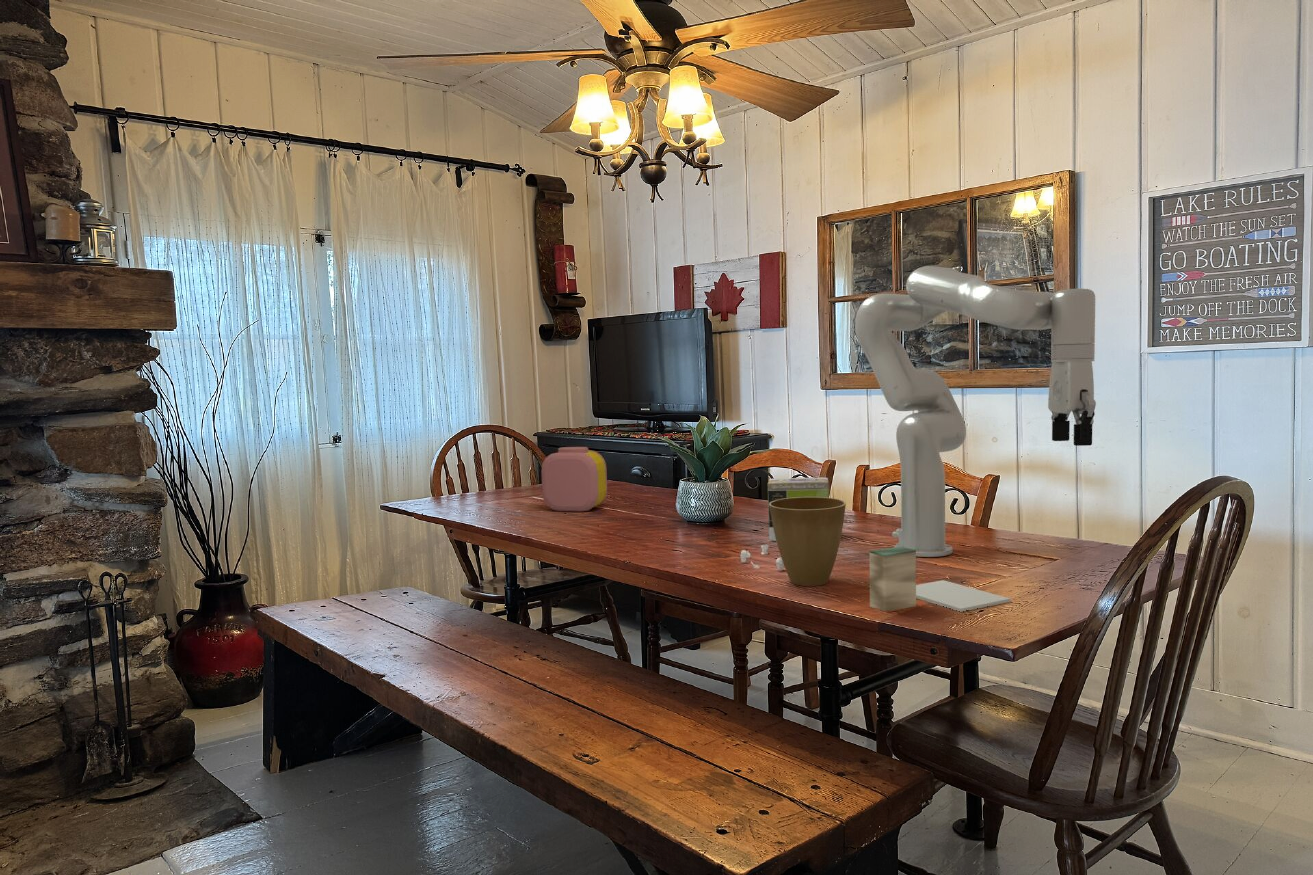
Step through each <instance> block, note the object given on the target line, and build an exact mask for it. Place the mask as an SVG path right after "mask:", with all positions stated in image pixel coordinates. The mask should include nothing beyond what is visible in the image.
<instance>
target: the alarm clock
mask: <svg viewBox="0 0 1313 875" xmlns="http://www.w3.org/2000/svg"><path fill="white" fill-rule="evenodd" d="M540 472H541V493H542V498H543V501H544V503H545V504H546V505H547V507H549V508H550V509H551V510H553V511H557V512H574V513H575V512H576V513H577V512H581V513H583V512H589V511H590V510H592V508H596V507H598V506H600V505H602V504H603V503H604V501H605V499H606V497H607V494H608V478H607V477H608V476H607V474H608V473H607V463H606V460H605V459H604V457H603V455H601V454H600V453H599V452H598V451H595V450H590V449H589V448H588V447H587V446H564V447H563V446H562V447H559V448H557V452H555V453H551V454H549V455H548V456H546V457H545V459H544V460H543V461H542V464H541V471H540Z"/></svg>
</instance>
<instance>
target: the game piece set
mask: <svg viewBox="0 0 1313 875" xmlns="http://www.w3.org/2000/svg"><path fill="white" fill-rule="evenodd" d="M760 548H761V553H760V554H761V555H769V553H768V549H769V545H768V544H761V545H760ZM751 557H752V556H751V553H749V550H747V551H746V550H745V549H743V550H741V552H740V557H739V558H740V562H741V563H742V564H745V563H746V562H747V559H750V558H751ZM775 563H776V567H777V571H779V572H780V571H781V572H782V571H783V569H784V567H785V566H784V563H783V561H782V558H781V556H780V557H778V558H776V560H775ZM750 564H751V565H753V567H752V568H753V569H757V570H759V569H760V568H761V567H760V566H759V565H755V564H754V563H753V561H750Z"/></svg>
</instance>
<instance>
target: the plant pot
mask: <svg viewBox="0 0 1313 875" xmlns="http://www.w3.org/2000/svg"><path fill="white" fill-rule="evenodd" d="M846 505H847V503H846V501H845V500H842V499H839V498H835V497H834V498H833V497H829V498H827V497H794V498H785V499H779V500H775V501H772V502H770V503H769V507H770V513H771V518H772V524H773V529H774V533H775V537H776V541H775V542H776V544H777V548H778V550H779V555H780V557H781V558H782V561H783V563H784V566H783V567H784V568H785V572H786V574H787V576H788V579H789V581H790V583H791V584H794V585H796V586H801V587H816V586H817V587H818V586H823V585H826V584H827V583H828V582H829V581H830V577H831V575H832V572H833V569H834V566H835V563H836V559H837V556H838V551H839V549H840V548H839V547H840V543H841V540H842V538H841V537H842V535H843V534H842V533H843V527H844V523H845V522H844V521H845V514H846Z"/></svg>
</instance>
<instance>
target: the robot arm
mask: <svg viewBox="0 0 1313 875" xmlns="http://www.w3.org/2000/svg"><path fill="white" fill-rule="evenodd" d="M905 284H906V285H905V289H906V293H907V294H906V293H905V294H903V293H901V294H900V293H877V294H874V295H872V296H869V297H867V298H866V299H865V300H864V301H863V302H862V303H861V304H860V306H859V308H858V310H857V311H856V316H855V322H854V329H855V335H856V338H857V342H858V343H859V346H860V348H861V349H862V351H863V353H864V356H866V359H867V360H868V364H870V366H871V369H872V372H873V375H874V376H875V379H876V382H878V385H879V388H880V390H881V392H882V394H883V397H884V399H885V400H886V403H887V404H888V406H889V407H890V408H891V409H893V410H895V411H897V412H911V411H914V412H912V413H911V414H909V415H906V416H905V417H904V418H902V419H901V421H900V422H899V424H898V426H897V428H896V432H895V433H896V434H895V436H896V445H897V451H898V456H899V462H900V463H899V465H900V490H901V491H900V499H901V500H900V501H901V503H900V512H901V513H900V514H901V515H900V519H901V520H900V521H901V522H900V523H901V524H900V527H901V528H897V529H896V530H895V531H894V530H893V532H892V533H891V536H892V537H893V538H897V539H898V542H897V543H896V544H895V545H894V547H899V546H900V547H905V548H909V549H913V550H916V558H920V557H921V558H924V557H925V558H935V557H936V558H938V557H944V556H948V555H951V554H952V553H953V547H952V545H949V544H947V543H946V474H945V472H946V471H945V466H944V463H943V459H942V457H941V455H940V453H945V452H947V453H948V452H952V451H954V450H956V449H959V447H961V446H962V444H964V442H965V440H966V436H967V428H966V423H965V419H964V417H963V415H962V413H961V410H960V409H959V406H958V404H957V403H956V400H955V398H954V397H953V394H952V392H951V389H950V388H949V386H948V384H947V383H946V381H945V379H944V378H943V377H942V375H940V374H939V373H938V372H936V371H934V370H931V369H927V368H919V369H918V368H916V367H915V366H914V365H913V363H912V361H911V359H910V357H909V355H908V353H907V351H906V349H905V347H904V345H903V344H902V343H901V342H900V341H899V339H898V338H896V337H895V335H894V334H893V332H912V331H915V330H918V329H920V328H923V327H925V326H926V325H927V324H929V323H930V322H932V321H933V320H935V319H937V318H938V317H939V316H941V315H942V314H944V313H946V312H950V313H955V314H958V315H962V316H966V317H967V318H971V319H973V320H976V321H979V322H983V323H987V324H990V325H993V326H998V327H1002V328H1007V329H1011V330H1018V331H1019V330H1021V331H1022V330H1030V331H1031V330H1032V331H1035V330H1036V331H1037V330H1038V331H1039V330H1040V331H1041V330H1043V331H1044V330H1050V329H1051V331H1050V332H1051V333H1050V334H1051V340H1050V342H1051V346H1050V350H1051V351H1050V355H1051V356H1050V362H1051V363H1052V364H1051V368H1050V374H1049V381H1048V382H1049V385H1048V397H1047V400H1048V401H1047V402H1048V403H1047V408H1048V410H1049V411H1050V412H1051V413H1052V414H1051V440H1052V441H1053V442H1068V441H1070V427H1071V426H1070V425H1071V424H1070V423H1071V421H1070V420H1068V419H1069V416H1070V414H1071V413H1072V415H1073V417H1074V422H1075V423H1076V424H1075V423H1074V424H1073V445H1074V446H1076V447H1081V446H1083V447H1085V446H1086V447H1087V446H1091V445H1093V424H1094V417H1095V409H1096V406H1097V402H1096V400H1095V384H1094V383H1095V382H1094V370H1093V362H1095V353H1096V352H1095V340H1096V338H1095V337H1096V294H1095V292H1094V291H1093V290H1092V289H1089V288H1067V289H1060V290H1057V291H1055V292H1050V291H1039V290H1038V291H1035V290H1022V289H1021V290H1019V289H1013V288H1008V287H1004V286H1000V285H995V284H990V283H987V282H986V280H985V279H984V278H983V277H981V276H980V275H975V274H971V273H970V274H969V273H967V272H966V273H964V272H960V271H959V270H957V269H955V268H952V267H943V266H933V265H929V266H928V265H925V266H922V267H921V266H920V267H919V268H917V269H915V270H913V271H912V272H911V273H909V275H908V278H907V280H906V283H905ZM915 411H917V412H915Z"/></svg>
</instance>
